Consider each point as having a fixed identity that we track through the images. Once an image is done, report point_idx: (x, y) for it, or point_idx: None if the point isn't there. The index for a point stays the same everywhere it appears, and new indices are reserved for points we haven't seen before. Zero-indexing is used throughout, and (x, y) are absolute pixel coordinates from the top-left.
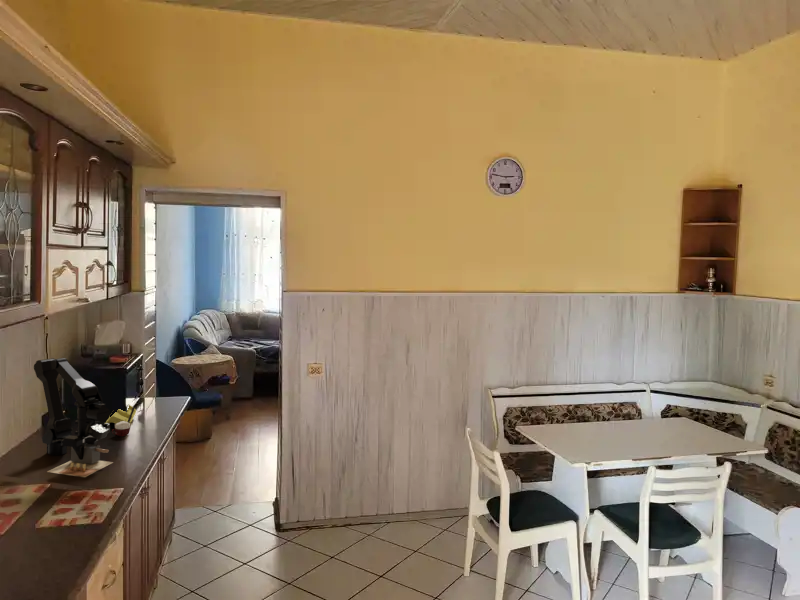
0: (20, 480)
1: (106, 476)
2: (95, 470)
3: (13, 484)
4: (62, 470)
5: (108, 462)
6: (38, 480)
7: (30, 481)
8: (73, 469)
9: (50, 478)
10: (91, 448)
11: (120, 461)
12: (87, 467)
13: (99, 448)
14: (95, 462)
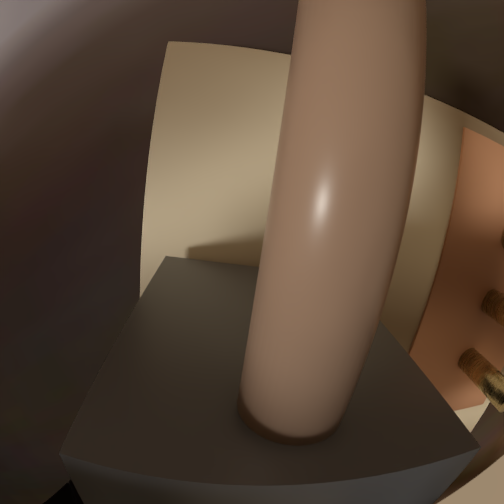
0: (467, 467)
1: (458, 30)
2: (480, 139)
3: (498, 452)
4: (458, 409)
5: (185, 103)
6: (489, 421)
7: (490, 436)
8: (475, 351)
9: None
10: (456, 470)
11: (29, 87)
12: (408, 277)
13: (117, 381)
14: None
